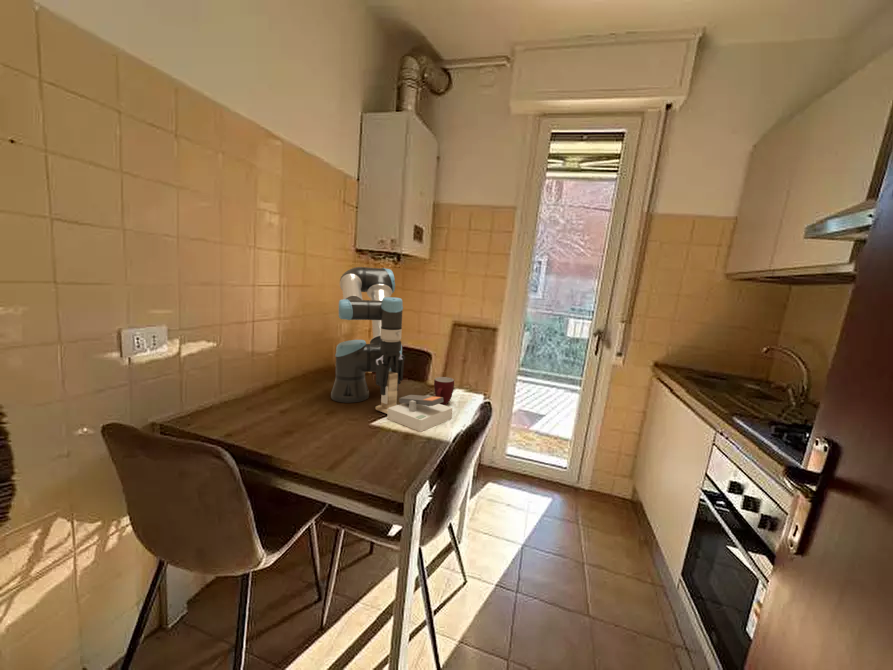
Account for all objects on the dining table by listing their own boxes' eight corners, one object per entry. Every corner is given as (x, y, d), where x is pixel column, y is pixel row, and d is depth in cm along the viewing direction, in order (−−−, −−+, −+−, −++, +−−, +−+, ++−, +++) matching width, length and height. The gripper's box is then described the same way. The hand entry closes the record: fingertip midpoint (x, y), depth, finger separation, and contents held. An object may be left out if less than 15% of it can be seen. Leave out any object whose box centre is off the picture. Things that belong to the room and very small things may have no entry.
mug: (449, 409, 147) (451, 384, 145) (429, 407, 149) (430, 382, 147) (454, 401, 157) (455, 378, 156) (435, 399, 159) (436, 376, 157)
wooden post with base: (375, 409, 141) (376, 372, 139) (389, 404, 147) (390, 369, 145) (388, 414, 137) (389, 376, 135) (402, 409, 143) (403, 373, 140)
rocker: (399, 402, 138) (398, 397, 138) (410, 398, 143) (410, 394, 142) (432, 405, 128) (432, 400, 128) (443, 401, 133) (443, 396, 133)
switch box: (387, 418, 134) (387, 398, 133) (419, 407, 148) (420, 388, 147) (420, 431, 125) (421, 410, 124) (451, 418, 138) (453, 398, 137)
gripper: (380, 344, 129) (378, 409, 133) (414, 339, 142) (412, 398, 146) (366, 341, 133) (364, 404, 137) (400, 336, 147) (398, 394, 150)
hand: (389, 401), depth 141 cm, fingers closed on wooden post with base, 4 cm apart
